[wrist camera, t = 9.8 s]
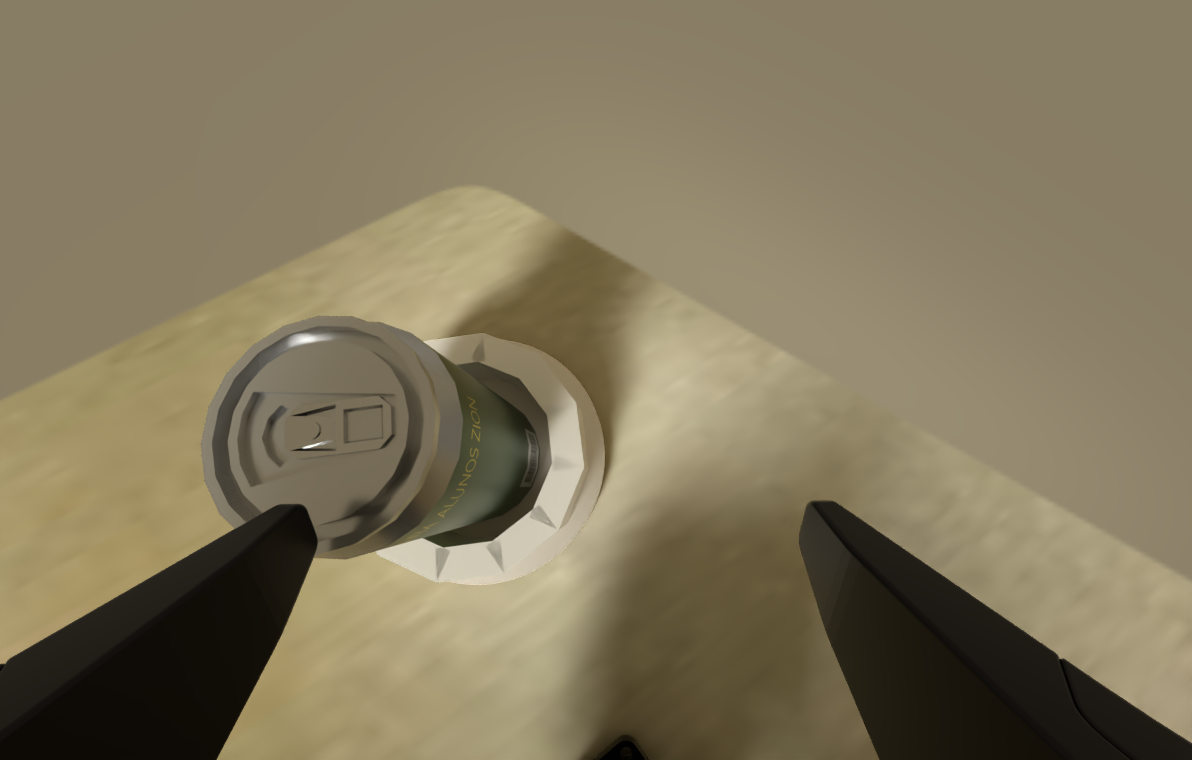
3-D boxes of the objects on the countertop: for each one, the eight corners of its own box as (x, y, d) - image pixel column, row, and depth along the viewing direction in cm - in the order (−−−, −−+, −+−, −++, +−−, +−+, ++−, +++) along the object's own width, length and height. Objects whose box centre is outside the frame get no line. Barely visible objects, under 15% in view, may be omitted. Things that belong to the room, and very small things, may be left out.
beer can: (537, 392, 22) (440, 289, 10) (548, 512, 21) (454, 550, 9) (422, 407, 22) (198, 322, 10) (427, 526, 21) (180, 584, 9)
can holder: (458, 633, 21) (420, 669, 17) (333, 436, 23) (274, 426, 19) (653, 477, 22) (660, 476, 18) (515, 302, 24) (495, 267, 20)
